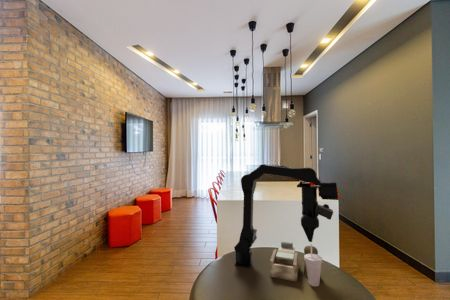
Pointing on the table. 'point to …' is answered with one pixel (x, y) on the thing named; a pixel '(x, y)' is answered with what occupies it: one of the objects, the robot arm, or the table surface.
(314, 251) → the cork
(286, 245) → the lid
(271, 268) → the box
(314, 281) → the smoothie
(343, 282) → the table surface
